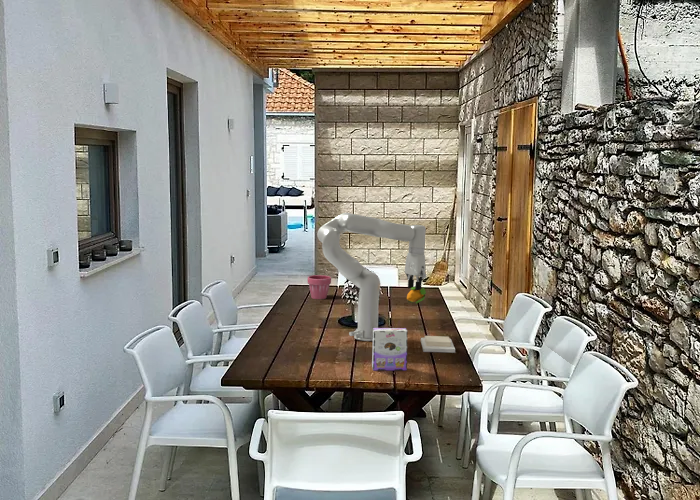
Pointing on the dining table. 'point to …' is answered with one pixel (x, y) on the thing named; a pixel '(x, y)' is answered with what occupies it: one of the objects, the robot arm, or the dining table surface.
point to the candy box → (389, 349)
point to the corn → (416, 295)
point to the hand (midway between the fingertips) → (414, 288)
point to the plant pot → (319, 286)
